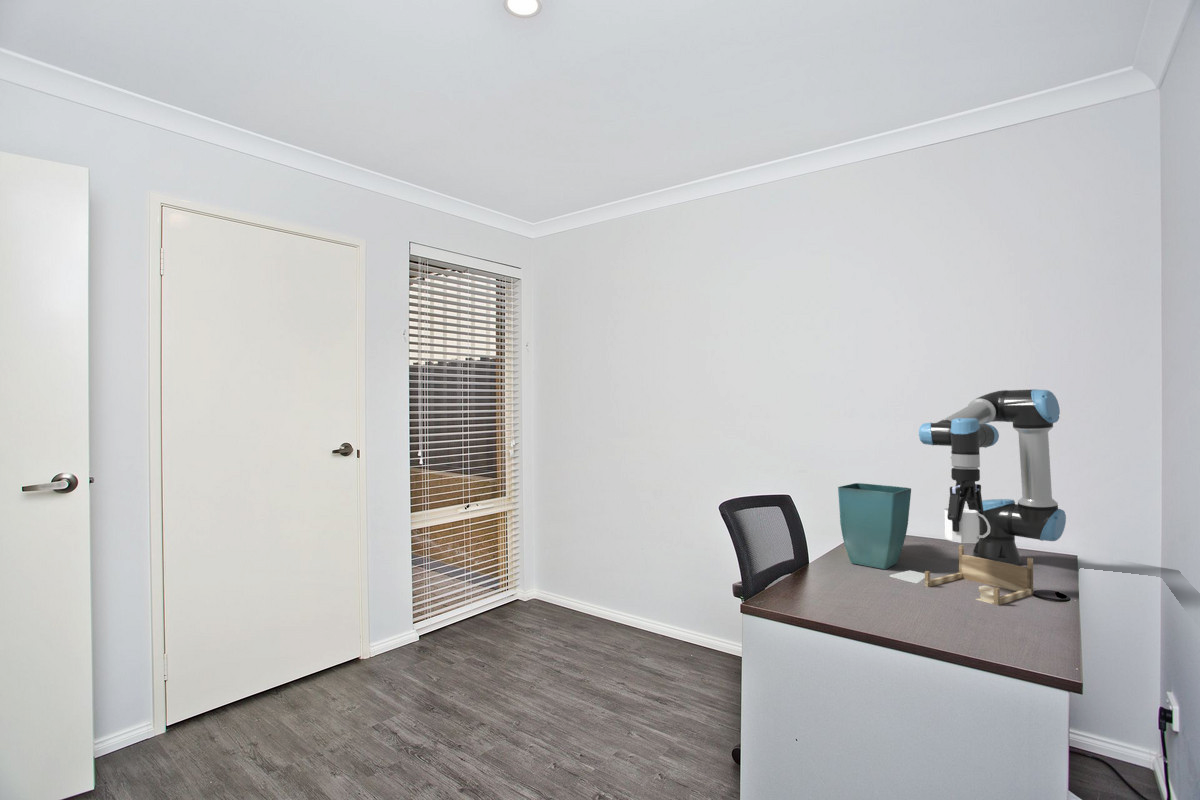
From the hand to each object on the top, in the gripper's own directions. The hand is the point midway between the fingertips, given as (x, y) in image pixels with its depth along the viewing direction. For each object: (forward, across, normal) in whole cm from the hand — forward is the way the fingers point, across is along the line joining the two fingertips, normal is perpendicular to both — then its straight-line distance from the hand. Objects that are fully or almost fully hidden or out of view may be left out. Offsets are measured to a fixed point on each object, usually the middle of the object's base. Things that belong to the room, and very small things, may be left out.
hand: (966, 540), depth 183 cm
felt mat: (+16, -2, -17) cm, 24 cm away
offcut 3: (+17, +6, +9) cm, 20 cm away
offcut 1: (+13, +6, +9) cm, 17 cm away
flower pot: (+17, -7, -36) cm, 40 cm away
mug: (0, 0, 0) cm, 1 cm away
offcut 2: (+15, +6, +9) cm, 19 cm away
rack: (+16, -2, +2) cm, 17 cm away
